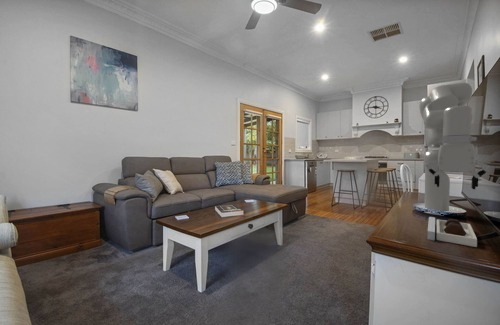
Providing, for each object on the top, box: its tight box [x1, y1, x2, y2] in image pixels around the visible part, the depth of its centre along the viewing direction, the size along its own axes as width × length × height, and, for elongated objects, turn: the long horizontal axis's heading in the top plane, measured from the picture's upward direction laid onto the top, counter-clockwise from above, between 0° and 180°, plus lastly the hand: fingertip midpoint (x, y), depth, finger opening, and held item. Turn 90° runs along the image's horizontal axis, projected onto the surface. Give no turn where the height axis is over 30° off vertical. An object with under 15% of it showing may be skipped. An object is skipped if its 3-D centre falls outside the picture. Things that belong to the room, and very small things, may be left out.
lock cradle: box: [435, 218, 478, 248], centre depth 83 cm, size 20×10×3 cm, turn 140°
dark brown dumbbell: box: [444, 218, 466, 236], centre depth 83 cm, size 6×5×15 cm
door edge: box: [426, 216, 436, 241], centre depth 87 cm, size 22×2×3 cm, turn 140°
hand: (455, 187), depth 83 cm, fingers open, 9 cm apart
